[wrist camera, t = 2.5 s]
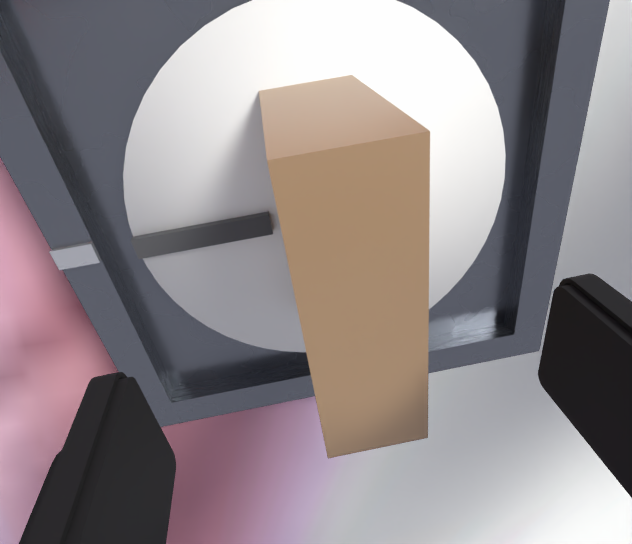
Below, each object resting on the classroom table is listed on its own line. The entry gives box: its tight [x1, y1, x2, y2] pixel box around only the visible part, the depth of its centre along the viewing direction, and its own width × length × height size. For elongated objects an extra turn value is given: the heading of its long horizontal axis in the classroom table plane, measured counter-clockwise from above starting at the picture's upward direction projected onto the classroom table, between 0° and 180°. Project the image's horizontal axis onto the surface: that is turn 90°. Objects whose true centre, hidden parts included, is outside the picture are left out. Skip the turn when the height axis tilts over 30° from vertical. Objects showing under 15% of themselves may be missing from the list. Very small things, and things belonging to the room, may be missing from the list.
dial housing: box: [0, 0, 610, 427], centre depth 17 cm, size 20×20×2 cm
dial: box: [123, 0, 506, 458], centre depth 14 cm, size 14×14×8 cm
